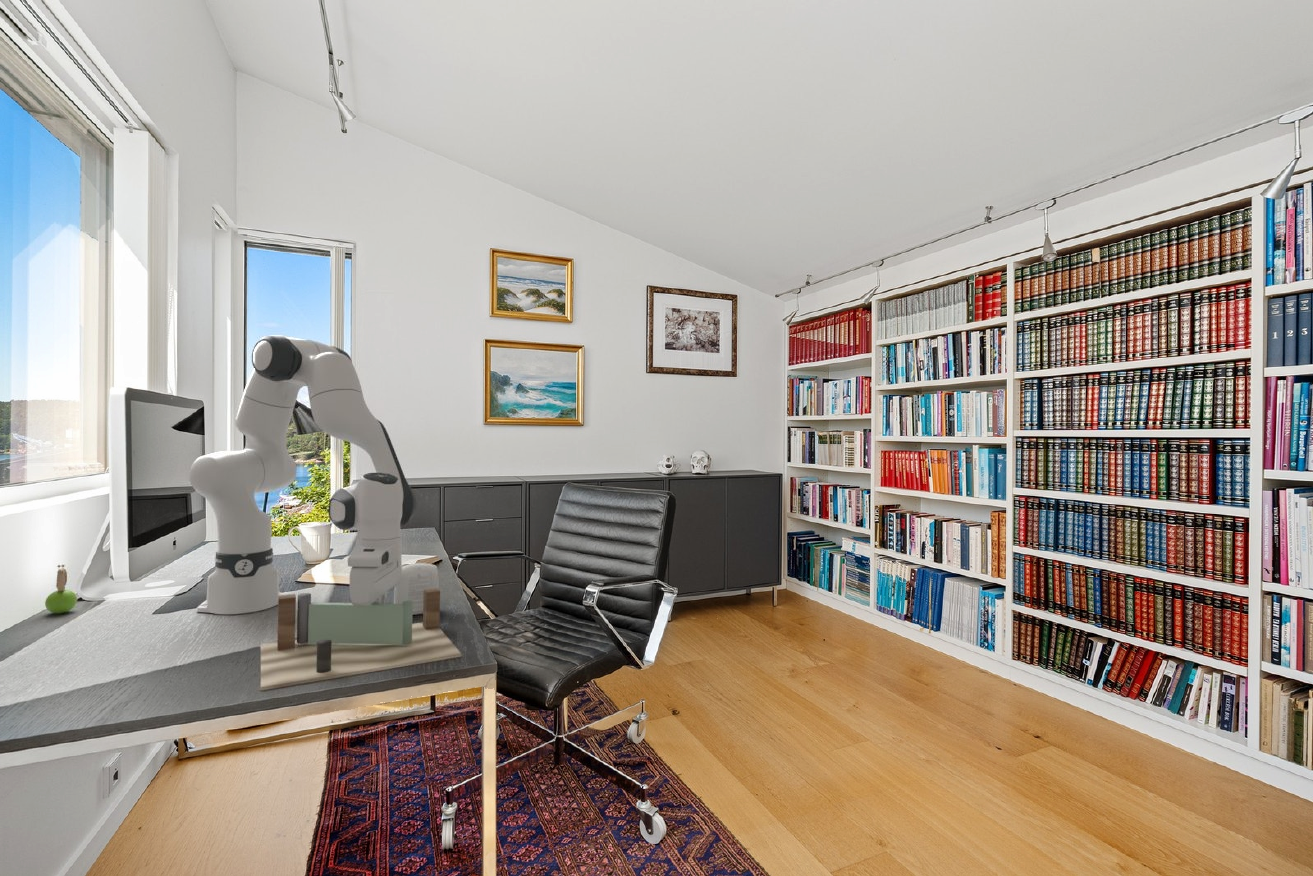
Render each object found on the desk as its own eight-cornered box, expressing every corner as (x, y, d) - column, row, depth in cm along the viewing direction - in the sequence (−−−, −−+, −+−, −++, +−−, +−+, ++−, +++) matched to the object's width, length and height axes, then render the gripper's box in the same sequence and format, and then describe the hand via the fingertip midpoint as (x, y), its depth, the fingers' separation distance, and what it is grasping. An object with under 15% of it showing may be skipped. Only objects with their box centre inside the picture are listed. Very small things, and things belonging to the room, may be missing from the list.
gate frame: (260, 647, 129) (261, 594, 129) (433, 623, 147) (434, 577, 147) (260, 690, 109) (261, 627, 108) (461, 656, 127) (462, 602, 127)
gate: (294, 643, 128) (295, 596, 128) (300, 639, 131) (301, 593, 130) (409, 645, 129) (410, 598, 129) (413, 641, 132) (414, 594, 132)
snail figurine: (43, 619, 142) (44, 566, 142) (45, 612, 147) (46, 561, 147) (76, 614, 146) (77, 563, 146) (77, 608, 151) (78, 558, 150)
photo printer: (434, 608, 159) (436, 560, 159) (439, 612, 156) (440, 563, 156) (391, 614, 154) (393, 564, 153) (395, 618, 150) (396, 567, 150)
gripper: (381, 540, 143) (380, 600, 143) (343, 560, 122) (342, 630, 123) (409, 541, 143) (408, 601, 143) (377, 560, 123) (375, 630, 123)
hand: (377, 614), depth 133 cm, fingers closed
